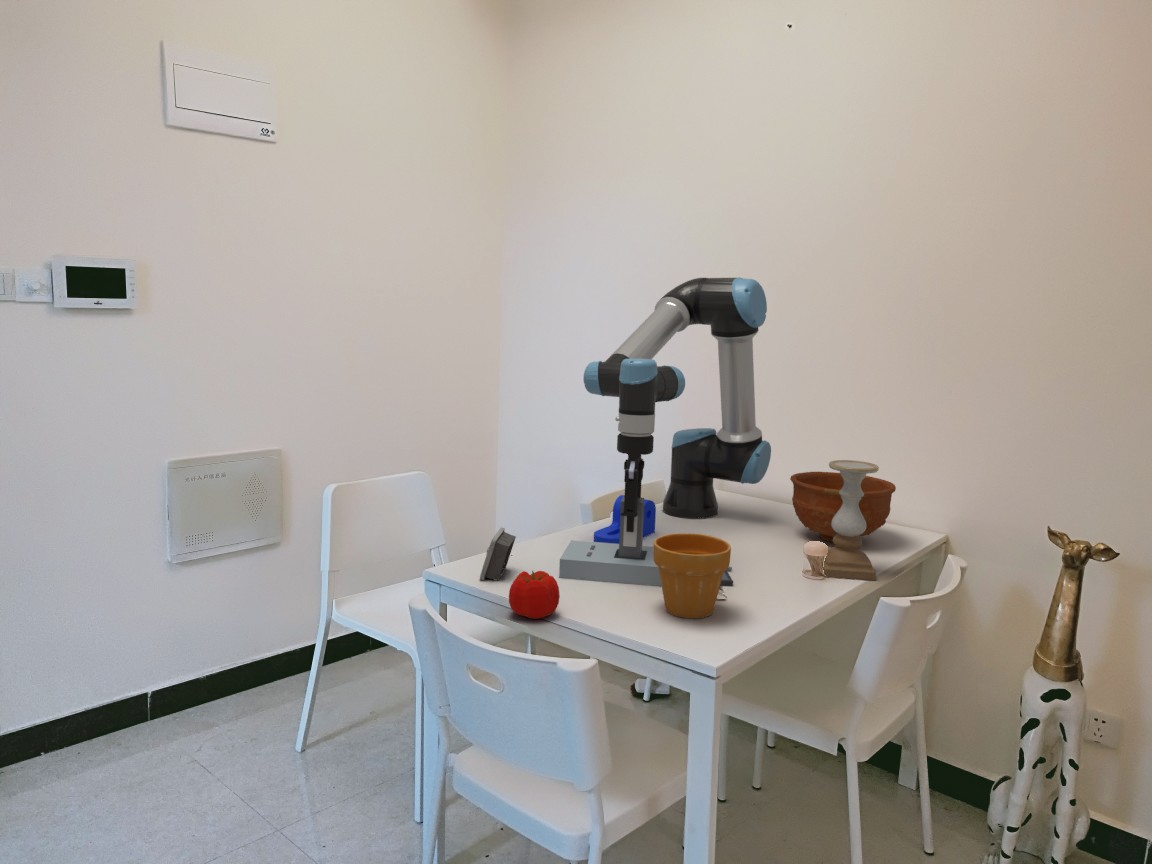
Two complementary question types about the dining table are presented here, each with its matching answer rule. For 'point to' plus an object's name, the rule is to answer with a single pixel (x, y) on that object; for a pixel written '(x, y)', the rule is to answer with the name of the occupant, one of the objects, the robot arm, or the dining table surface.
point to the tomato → (534, 594)
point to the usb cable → (729, 569)
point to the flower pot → (691, 572)
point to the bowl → (838, 501)
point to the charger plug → (637, 551)
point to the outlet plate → (608, 564)
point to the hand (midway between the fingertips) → (630, 542)
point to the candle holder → (849, 525)
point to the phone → (726, 579)
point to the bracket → (613, 531)
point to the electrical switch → (497, 555)
